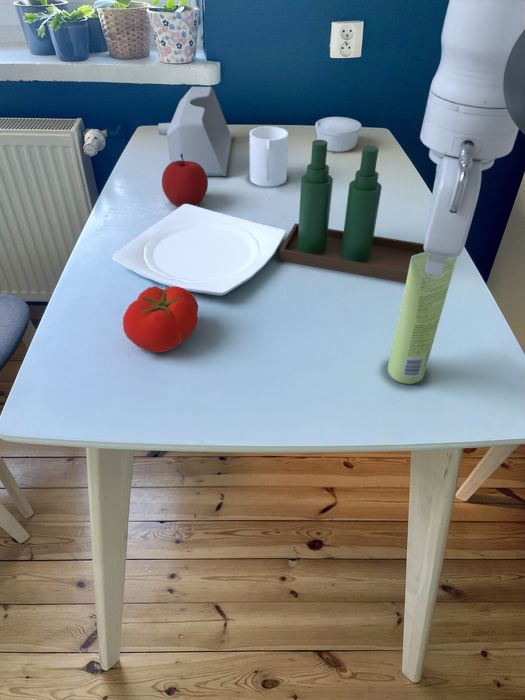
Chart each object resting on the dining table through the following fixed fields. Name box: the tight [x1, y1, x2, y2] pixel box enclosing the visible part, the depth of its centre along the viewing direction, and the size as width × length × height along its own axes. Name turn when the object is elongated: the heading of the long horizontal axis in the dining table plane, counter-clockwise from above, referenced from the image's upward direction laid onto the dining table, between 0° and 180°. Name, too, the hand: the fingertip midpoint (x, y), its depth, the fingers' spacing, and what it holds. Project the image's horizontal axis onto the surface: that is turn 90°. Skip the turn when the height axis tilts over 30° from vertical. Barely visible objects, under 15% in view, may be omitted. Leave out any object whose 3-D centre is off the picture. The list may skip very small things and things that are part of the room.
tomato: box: [122, 285, 199, 353], centre depth 78 cm, size 10×11×6 cm
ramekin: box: [314, 116, 362, 153], centre depth 134 cm, size 11×11×5 cm
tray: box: [279, 222, 425, 284], centre depth 95 cm, size 25×10×2 cm, turn 72°
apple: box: [161, 154, 209, 208], centre depth 108 cm, size 9×9×10 cm
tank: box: [157, 86, 232, 177], centre depth 126 cm, size 25×16×12 cm, turn 179°
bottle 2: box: [341, 145, 382, 262], centre depth 89 cm, size 5×5×19 cm
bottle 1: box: [297, 139, 334, 255], centre depth 91 cm, size 5×5×19 cm
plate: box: [111, 204, 287, 296], centre depth 95 cm, size 24×24×3 cm
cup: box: [249, 125, 289, 188], centre depth 116 cm, size 8×12×10 cm
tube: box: [387, 252, 458, 385], centre depth 68 cm, size 6×5×20 cm
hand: (436, 249), depth 61 cm, fingers open, 8 cm apart
